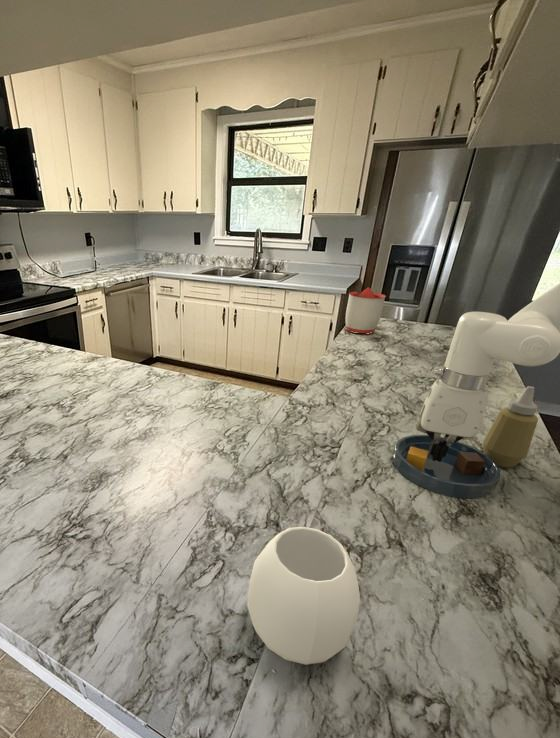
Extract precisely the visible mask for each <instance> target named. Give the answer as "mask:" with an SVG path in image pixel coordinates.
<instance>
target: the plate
mask: <svg viewBox="0 0 560 738" xmlns="http://www.w3.org/2000/svg"><path fill="white" fill-rule="evenodd" d="M443 437H444V436H441V437H440V440H441V439H442V438H443ZM431 441H432V440H431V438H430V437H429V436H428V434H412V435H408V436H404V437H402V438H401V439H400V438H399V440H397V442H396V444H395V445H394V449H393V453H392V457H391V459H392V465H393V466H394V468H395V469H396V470H397V472H399V473H400V474H401V475H402V476H403V477H404V478H406V479H407V480H408V481H410V482H411V483H414V485H415V484H416V485H417V486H419V487H421V488H424V489H426V490H428V491H431V492H433V493H436V494H440V495H443V496H448V497H452V498H460V499H481V498H484V497H487V496H490V495H491V494H492V493H493V492H494V491H495V490H496V488H497V485H498V483H499V481H500V479H501V469H500V466H498V465H497V464H496V463H495V462H494V461H493V460H492V459H491V458H490V457H489V456H487V455H486V454H484V453H483V452H482V451H481V450H479V449H478V448H475V447H473V446H471V445H469V444H466V443H464V442H462V441H457V442H455V443H453V445H452V446H449V448H448V451H447V454H446V456H445V457H443V458H442V460H441V462H438V461H437V460H435V461H432V458H431V455H430V454H429V453H428V456H427V459H426V462H425V465H424V468H423V471H421V470H419V469H417V468H415V467H414V466H412V465H411V464H410V463H408V462H407V461H406V459H407V455H408V452H409V450H410V447H411V446H412V447H415V448H419V449H423V450H426V451H429V447H430V444H431ZM459 452H473V453H477V454H478V455H479V456H480V457H481V458H482V459H483V460H484V461H485V464H484V466H483V468H482V471H481V473H480V475H462V474H461V472H460V471H459V470H458V469H457V468H456V467H455V466H454V464H455V462H456V459H457V456H458V454H459Z"/></svg>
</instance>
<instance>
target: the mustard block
mask: <svg viewBox="0 0 560 738" xmlns="http://www.w3.org/2000/svg"><path fill="white" fill-rule="evenodd" d="M428 452H429V451H426V450H423V449H419V448H415V447H412V446H411V447H410V450H409V452H408V455H407V459H406V461H407V462H408V463H410V464H411V465H412V466H414V467H415V468H417V469H419V470H421V471H423V468H424V465H425V462H426V459H427V456H428Z"/></svg>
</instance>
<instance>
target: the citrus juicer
mask: <svg viewBox="0 0 560 738" xmlns="http://www.w3.org/2000/svg"><path fill="white" fill-rule="evenodd" d="M386 297H387V296H386V295H385V294H383V293H379V292H373V290H372V289H371V287H367V288H365V289H364V290H363V291H361V292H360V294H359V293H358V292H357V291H351V292H349V293H348V300H347V304H346V305H347V306H346V309H345V310H346V311H345V329H346V328H347V329H346V331H347V330H349V331H353V332H358V333H370V332H373V331H376V328H377V326H378V324H379V322H380V320H381V316H382V312H383V308H384V304H385V298H386ZM349 331H348V332H349ZM373 333H374V332H373Z"/></svg>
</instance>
